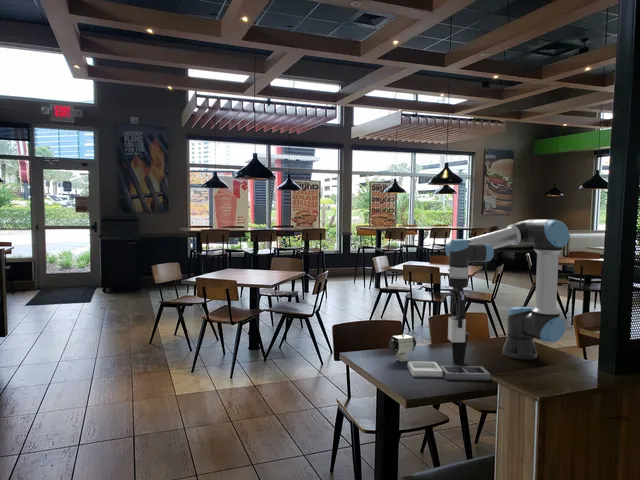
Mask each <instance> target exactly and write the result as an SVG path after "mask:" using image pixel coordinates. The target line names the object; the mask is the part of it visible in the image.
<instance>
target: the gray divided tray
mask: <svg viewBox="0 0 640 480" xmlns="http://www.w3.org/2000/svg"><path fill="white" fill-rule="evenodd" d="M439 367H440V368H441V369H442V371H443V377H442V378H444V380H447V381H448V380H449V381H450V380H451V381H453V380H454V381H491V380H490V375H492V374H491V373H490V372H489V371H488V370H487V369H485V368H484V366H482V365H481V366H479V365H478V366H477V365H474V366H473V365H439Z"/></svg>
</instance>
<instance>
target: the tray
mask: <svg viewBox="0 0 640 480" xmlns="http://www.w3.org/2000/svg"><path fill="white" fill-rule="evenodd" d="M407 368H408V370H409V372H410V375H411V376H412V377H415V378H416V377H420V378H444V377H443V371H442V369H441V368H440V365H438V363H437V362H436V361H408V360H407Z"/></svg>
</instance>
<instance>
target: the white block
mask: <svg viewBox="0 0 640 480" xmlns="http://www.w3.org/2000/svg"><path fill="white" fill-rule="evenodd" d="M455 318H457V316H455V317H451V316H449V317H448V318H447V319H448V322H447V325H448V326H447V339H448V340H449V341H450V342H451V343H452V342H465V332H467V331H466V325H467V320H466V318H465V319H464V320H463V336H456V335H455V329H456V320H455Z"/></svg>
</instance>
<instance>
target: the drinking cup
mask: <svg viewBox="0 0 640 480" xmlns="http://www.w3.org/2000/svg"><path fill="white" fill-rule="evenodd" d="M469 334H470V333H469V332H468V331H466V332H465V342H451V350H452V352H451V353H452V362H453V364H455V365H456V364H457V365H463V364H465V359H466V351H467V346H468V345H467V343H468V337H469Z"/></svg>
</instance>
